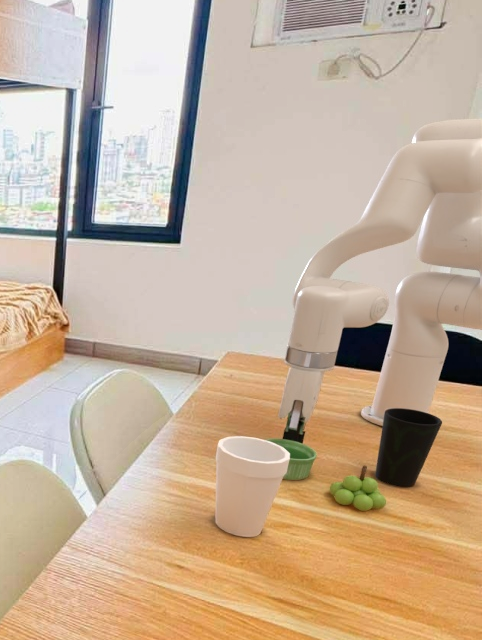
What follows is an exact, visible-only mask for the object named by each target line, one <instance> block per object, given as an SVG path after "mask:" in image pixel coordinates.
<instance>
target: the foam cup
mask: <svg viewBox="0 0 482 640" xmlns="http://www.w3.org/2000/svg"><path fill="white" fill-rule="evenodd" d="M214 460H215V461H216V465H215V466H216V468H215V469H216V470H215V471H216V472H215V473H216V474H215V509H214V510H215V515H214V516H215V517H214V519H215V522H214V523H215V524H216V525H217V527H218V528H219V529H220V530H222V531H223V532H225V533H228V534H230V535H234V536H235V537H236V536H237V537H243V538H252V537H257V536H259V535H260V534H261V532H262V531H263V529H264V526H265V524H266V522H267V519H268V515H269V514H270V511H271V508H272V506H273V504H274V501H275V498H276V497H277V494H278V491H279V489H280V486H281V484H282V481H283V480H284V479H283V476H284V475H285V474H286V473H287V469H288V464H289V460H290V453H289V452H288V451H287V450H286V449H285V448H283V447H282V446H279V445H277V444H275V443H273V442H270V441H266V440H265V439H263V438H258V437H252V436H244V435H242V436H241V435H237V436H226V437H223V438H221V439H219V440H218V443H217V446H216V453H215V458H214Z"/></svg>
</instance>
